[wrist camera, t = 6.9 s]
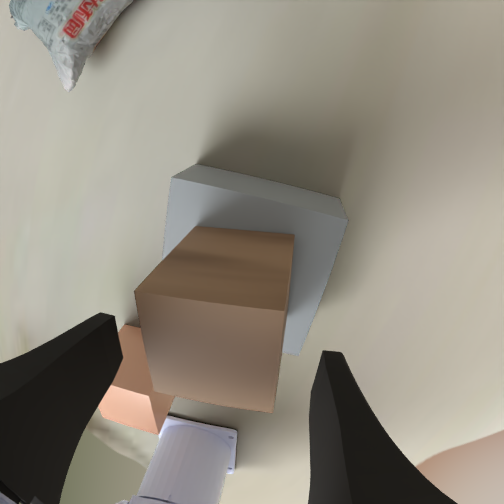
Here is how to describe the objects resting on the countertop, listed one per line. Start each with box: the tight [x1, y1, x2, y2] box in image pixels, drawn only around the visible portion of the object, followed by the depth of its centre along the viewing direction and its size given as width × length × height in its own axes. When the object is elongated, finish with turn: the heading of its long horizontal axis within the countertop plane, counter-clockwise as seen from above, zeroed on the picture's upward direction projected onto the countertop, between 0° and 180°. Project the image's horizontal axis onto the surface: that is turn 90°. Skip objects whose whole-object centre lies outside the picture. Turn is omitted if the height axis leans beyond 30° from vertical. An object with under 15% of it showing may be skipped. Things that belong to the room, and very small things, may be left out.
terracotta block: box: [98, 324, 175, 435], centre depth 21 cm, size 4×4×6 cm
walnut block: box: [134, 226, 295, 413], centre depth 13 cm, size 4×4×6 cm
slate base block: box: [162, 164, 349, 356], centre depth 17 cm, size 8×8×4 cm
